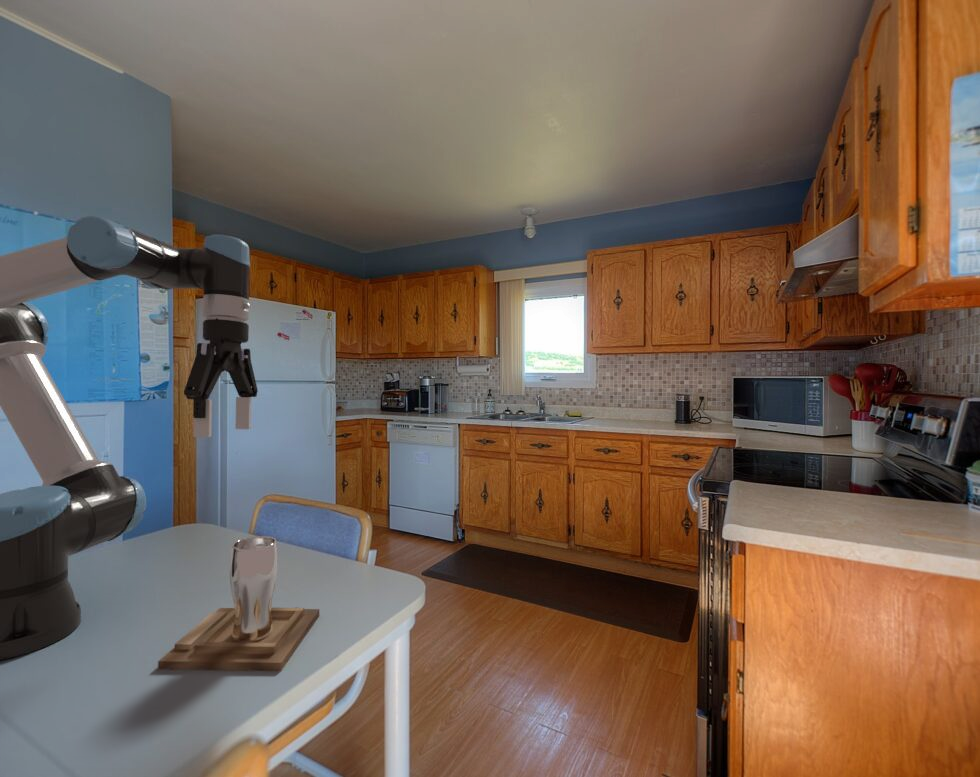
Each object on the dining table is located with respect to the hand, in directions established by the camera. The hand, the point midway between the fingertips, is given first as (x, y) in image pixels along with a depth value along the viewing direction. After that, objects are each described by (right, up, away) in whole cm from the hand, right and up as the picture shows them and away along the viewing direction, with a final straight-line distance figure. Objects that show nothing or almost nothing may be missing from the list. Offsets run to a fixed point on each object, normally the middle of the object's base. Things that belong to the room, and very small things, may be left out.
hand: (224, 432), depth 87 cm
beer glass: (+11, -32, -11) cm, 36 cm away
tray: (+10, -33, -11) cm, 36 cm away
